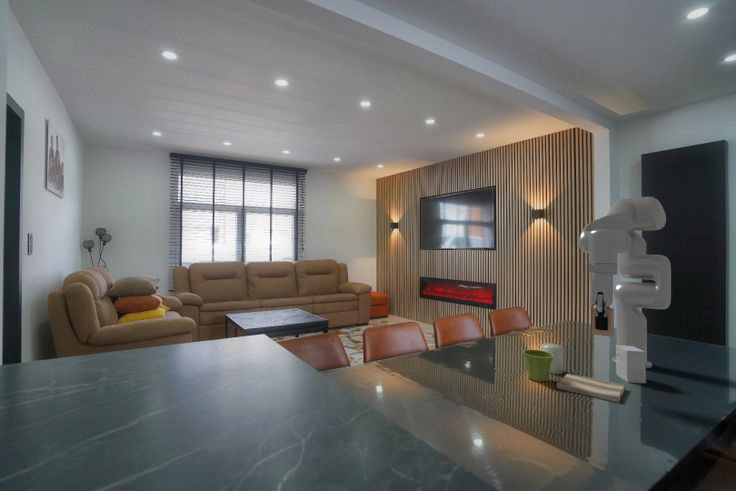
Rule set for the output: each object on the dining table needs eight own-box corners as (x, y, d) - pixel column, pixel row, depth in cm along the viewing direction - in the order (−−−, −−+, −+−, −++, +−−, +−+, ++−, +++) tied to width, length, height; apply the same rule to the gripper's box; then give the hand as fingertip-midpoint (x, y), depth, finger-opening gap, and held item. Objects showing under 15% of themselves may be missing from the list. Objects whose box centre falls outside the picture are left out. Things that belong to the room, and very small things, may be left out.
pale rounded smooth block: (545, 366, 136) (545, 342, 137) (565, 370, 132) (565, 345, 132) (539, 371, 131) (539, 345, 131) (560, 375, 126) (560, 349, 127)
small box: (646, 384, 119) (646, 351, 119) (627, 382, 120) (626, 350, 120) (633, 376, 127) (633, 345, 127) (615, 374, 128) (615, 344, 128)
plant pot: (553, 377, 125) (553, 351, 125) (554, 386, 116) (554, 358, 116) (523, 373, 129) (523, 348, 129) (522, 381, 120) (522, 354, 120)
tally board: (568, 377, 124) (568, 373, 124) (625, 389, 114) (625, 384, 114) (556, 388, 114) (556, 383, 114) (618, 402, 103) (618, 397, 103)
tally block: (595, 331, 116) (595, 306, 116) (613, 334, 113) (613, 308, 113) (592, 334, 112) (592, 308, 112) (611, 336, 109) (611, 310, 109)
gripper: (593, 268, 122) (593, 323, 121) (583, 269, 109) (583, 330, 108) (620, 269, 117) (620, 326, 117) (613, 270, 104) (613, 334, 104)
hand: (603, 327), depth 113 cm, fingers closed on tally block, 5 cm apart
